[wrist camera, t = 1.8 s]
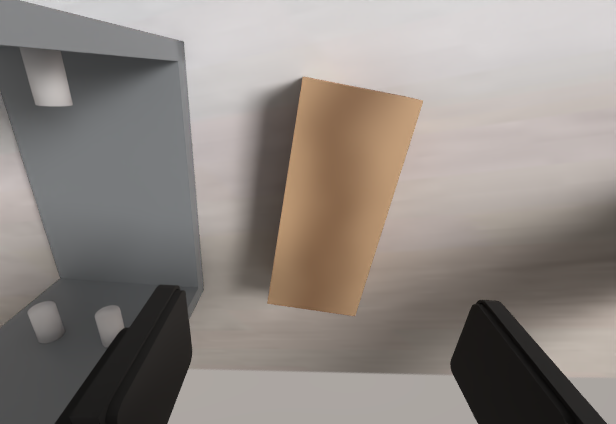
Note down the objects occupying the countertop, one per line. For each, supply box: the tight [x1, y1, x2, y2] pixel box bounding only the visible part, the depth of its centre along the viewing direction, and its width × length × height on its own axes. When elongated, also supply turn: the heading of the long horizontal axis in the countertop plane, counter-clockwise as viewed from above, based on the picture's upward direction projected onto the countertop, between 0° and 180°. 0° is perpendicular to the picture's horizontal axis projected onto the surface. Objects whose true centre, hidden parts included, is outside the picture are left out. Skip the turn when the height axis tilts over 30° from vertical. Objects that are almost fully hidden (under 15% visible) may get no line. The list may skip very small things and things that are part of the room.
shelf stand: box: [0, 0, 204, 424], centre depth 15 cm, size 10×17×12 cm, turn 175°
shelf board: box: [267, 77, 423, 316], centre depth 19 cm, size 6×14×4 cm, turn 170°
